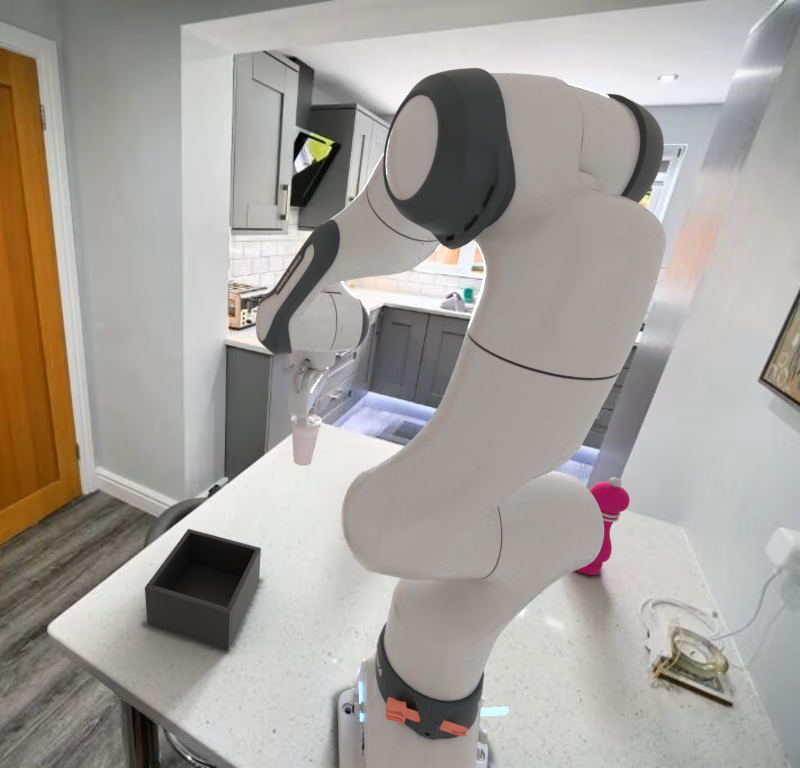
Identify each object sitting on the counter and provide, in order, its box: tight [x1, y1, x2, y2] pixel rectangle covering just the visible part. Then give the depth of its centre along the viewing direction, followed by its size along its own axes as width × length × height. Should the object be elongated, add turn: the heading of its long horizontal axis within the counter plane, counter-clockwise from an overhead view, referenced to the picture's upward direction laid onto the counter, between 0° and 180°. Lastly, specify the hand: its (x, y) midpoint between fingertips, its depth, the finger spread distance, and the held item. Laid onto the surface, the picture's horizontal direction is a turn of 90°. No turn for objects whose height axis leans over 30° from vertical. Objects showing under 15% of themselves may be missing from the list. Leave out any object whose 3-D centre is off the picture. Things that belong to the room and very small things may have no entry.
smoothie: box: [289, 413, 323, 467], centre depth 89 cm, size 6×6×14 cm
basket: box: [144, 528, 262, 651], centre depth 71 cm, size 14×14×8 cm
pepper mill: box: [576, 476, 630, 576], centre depth 83 cm, size 7×7×20 cm
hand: (306, 418), depth 88 cm, fingers closed on smoothie, 6 cm apart
